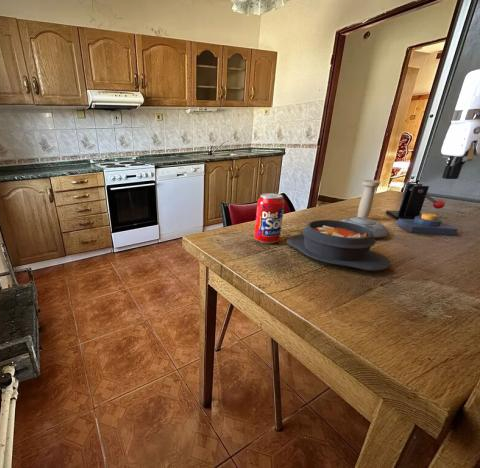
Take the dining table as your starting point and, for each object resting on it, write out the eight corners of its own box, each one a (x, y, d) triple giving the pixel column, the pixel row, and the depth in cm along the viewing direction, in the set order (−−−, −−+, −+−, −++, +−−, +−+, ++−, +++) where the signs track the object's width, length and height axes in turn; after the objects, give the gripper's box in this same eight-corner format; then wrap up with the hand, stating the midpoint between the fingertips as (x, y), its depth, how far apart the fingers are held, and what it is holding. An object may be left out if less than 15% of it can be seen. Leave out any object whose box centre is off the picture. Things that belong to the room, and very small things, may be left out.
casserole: (399, 262, 68) (409, 232, 65) (372, 286, 58) (382, 252, 55) (305, 235, 87) (309, 211, 84) (272, 250, 77) (276, 223, 74)
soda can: (261, 234, 89) (266, 191, 84) (283, 240, 83) (290, 195, 78) (249, 240, 84) (253, 195, 79) (271, 247, 79) (277, 199, 73)
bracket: (417, 214, 104) (428, 183, 100) (431, 221, 96) (444, 187, 92) (385, 213, 107) (394, 182, 103) (396, 219, 99) (406, 186, 95)
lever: (435, 208, 100) (443, 202, 98) (441, 211, 97) (449, 204, 95) (407, 190, 100) (414, 183, 99) (411, 191, 97) (419, 184, 96)
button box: (437, 226, 91) (441, 215, 90) (455, 235, 83) (460, 223, 82) (396, 224, 95) (400, 213, 93) (410, 232, 87) (414, 221, 85)
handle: (370, 218, 101) (381, 180, 96) (367, 222, 97) (378, 183, 91) (356, 216, 104) (365, 179, 99) (352, 220, 100) (362, 181, 95)
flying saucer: (388, 244, 78) (393, 227, 76) (331, 235, 87) (334, 219, 85) (387, 230, 89) (391, 215, 87) (336, 223, 98) (339, 209, 96)
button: (431, 218, 89) (432, 213, 88) (437, 221, 86) (439, 216, 85) (418, 217, 90) (419, 212, 89) (424, 220, 87) (426, 215, 86)
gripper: (510, 114, 69) (483, 182, 75) (467, 116, 82) (448, 174, 88) (474, 116, 71) (451, 182, 77) (438, 118, 84) (421, 175, 91)
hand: (449, 178), depth 83 cm, fingers closed
